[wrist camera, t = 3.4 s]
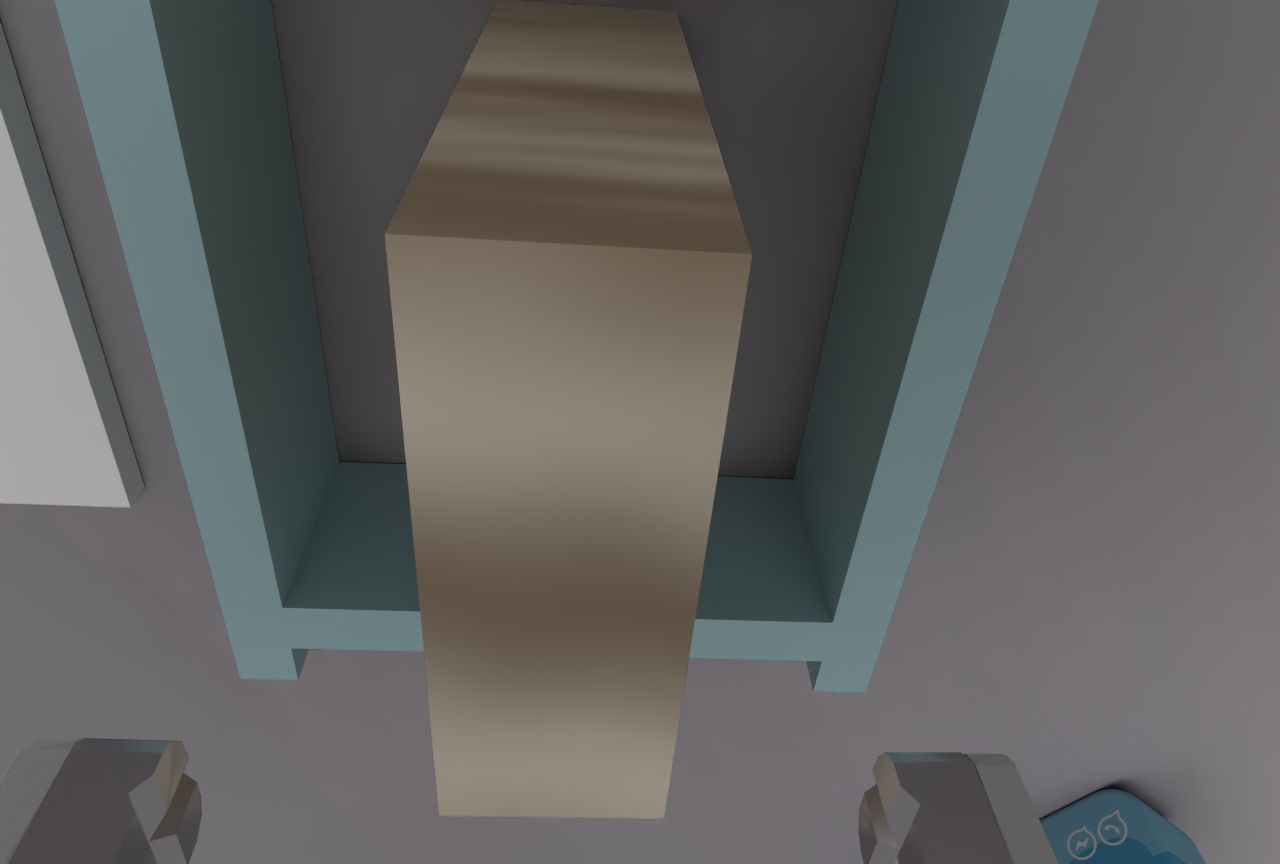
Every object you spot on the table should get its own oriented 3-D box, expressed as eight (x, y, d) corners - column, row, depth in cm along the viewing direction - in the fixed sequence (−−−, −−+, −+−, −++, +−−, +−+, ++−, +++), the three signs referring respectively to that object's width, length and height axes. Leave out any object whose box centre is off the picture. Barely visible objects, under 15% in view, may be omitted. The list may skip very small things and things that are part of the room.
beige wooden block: (498, -2, 20) (384, 233, 10) (676, 11, 21) (752, 254, 10) (504, 406, 27) (439, 815, 16) (640, 412, 27) (663, 818, 16)
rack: (98, -551, 15) (-140, -707, 10) (1077, -441, 16) (1278, -535, 12) (301, 528, 29) (240, 678, 24) (823, 545, 30) (866, 692, 25)
